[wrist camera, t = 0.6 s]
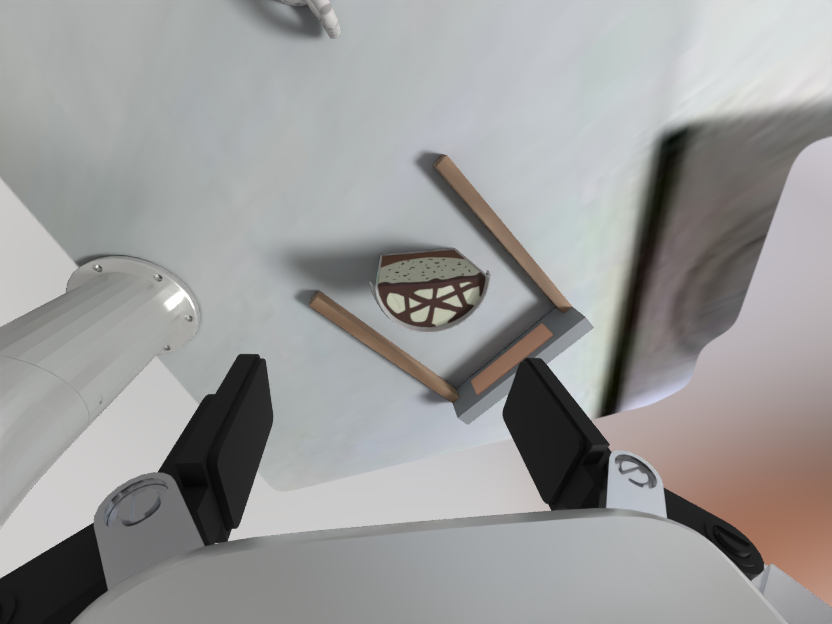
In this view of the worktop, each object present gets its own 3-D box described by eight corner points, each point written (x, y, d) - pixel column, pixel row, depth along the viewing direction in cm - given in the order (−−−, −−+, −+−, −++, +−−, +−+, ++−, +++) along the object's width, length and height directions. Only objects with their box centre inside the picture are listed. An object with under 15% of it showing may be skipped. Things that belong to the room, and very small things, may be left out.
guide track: (449, 394, 51) (452, 403, 49) (311, 298, 39) (309, 305, 38) (564, 300, 45) (572, 306, 44) (442, 154, 33) (446, 155, 32)
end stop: (459, 401, 52) (468, 424, 48) (448, 393, 51) (456, 417, 47) (572, 309, 46) (594, 327, 42) (563, 299, 45) (584, 316, 41)
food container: (373, 300, 41) (376, 343, 32) (368, 255, 38) (369, 290, 29) (464, 291, 42) (490, 330, 33) (466, 246, 39) (495, 277, 30)
